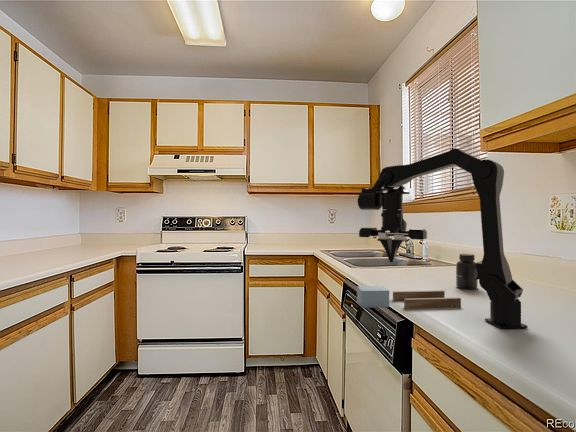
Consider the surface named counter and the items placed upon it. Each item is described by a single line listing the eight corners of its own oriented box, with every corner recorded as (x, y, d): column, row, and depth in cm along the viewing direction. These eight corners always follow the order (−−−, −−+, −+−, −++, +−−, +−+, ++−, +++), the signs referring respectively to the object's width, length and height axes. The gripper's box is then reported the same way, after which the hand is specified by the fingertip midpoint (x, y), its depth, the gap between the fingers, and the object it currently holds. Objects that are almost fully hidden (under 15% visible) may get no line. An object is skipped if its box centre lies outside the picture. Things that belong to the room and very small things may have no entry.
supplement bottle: (453, 287, 124) (453, 254, 123) (460, 285, 128) (459, 252, 128) (474, 290, 119) (473, 256, 119) (480, 287, 123) (480, 254, 123)
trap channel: (460, 307, 98) (460, 298, 98) (405, 308, 98) (405, 299, 98) (442, 298, 109) (442, 290, 109) (392, 299, 108) (392, 291, 108)
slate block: (389, 307, 99) (389, 290, 99) (361, 308, 99) (361, 290, 99) (383, 302, 105) (383, 286, 105) (357, 302, 105) (357, 286, 105)
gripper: (430, 209, 104) (430, 261, 105) (370, 209, 114) (370, 256, 115) (422, 209, 95) (422, 266, 95) (358, 209, 105) (358, 261, 105)
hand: (391, 262), depth 103 cm, fingers closed
